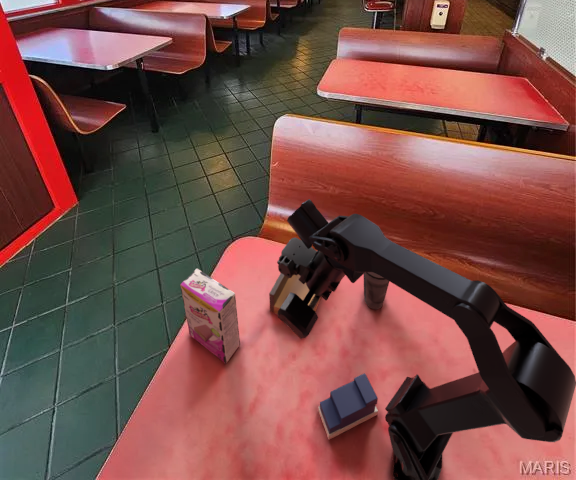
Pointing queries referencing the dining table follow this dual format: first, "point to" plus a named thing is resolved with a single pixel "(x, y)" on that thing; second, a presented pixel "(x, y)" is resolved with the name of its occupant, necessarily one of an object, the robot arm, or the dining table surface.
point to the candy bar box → (211, 314)
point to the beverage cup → (374, 290)
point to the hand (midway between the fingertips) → (305, 297)
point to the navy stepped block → (348, 406)
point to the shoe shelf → (287, 291)
